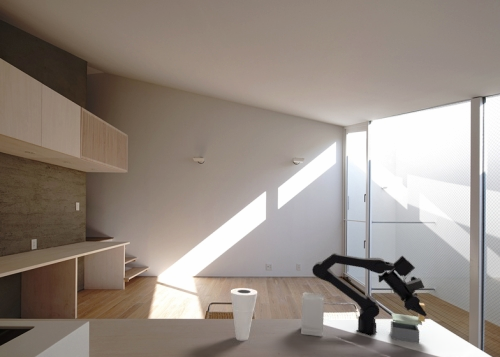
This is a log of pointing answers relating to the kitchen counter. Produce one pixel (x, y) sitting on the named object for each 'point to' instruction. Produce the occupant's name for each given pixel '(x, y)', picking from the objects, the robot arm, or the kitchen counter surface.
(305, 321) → the supplement box
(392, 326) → the tub
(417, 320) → the lid
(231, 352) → the kitchen counter surface
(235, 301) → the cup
